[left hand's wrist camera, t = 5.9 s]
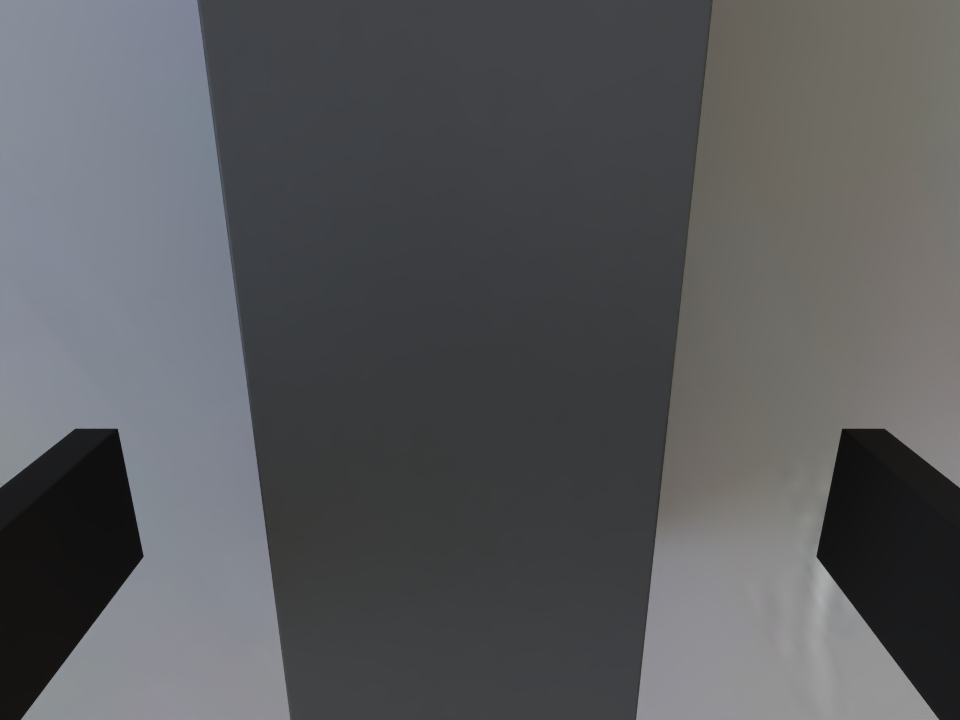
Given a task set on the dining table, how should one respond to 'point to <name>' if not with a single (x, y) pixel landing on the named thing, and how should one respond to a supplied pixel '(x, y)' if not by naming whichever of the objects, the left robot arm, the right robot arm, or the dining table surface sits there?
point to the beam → (458, 336)
